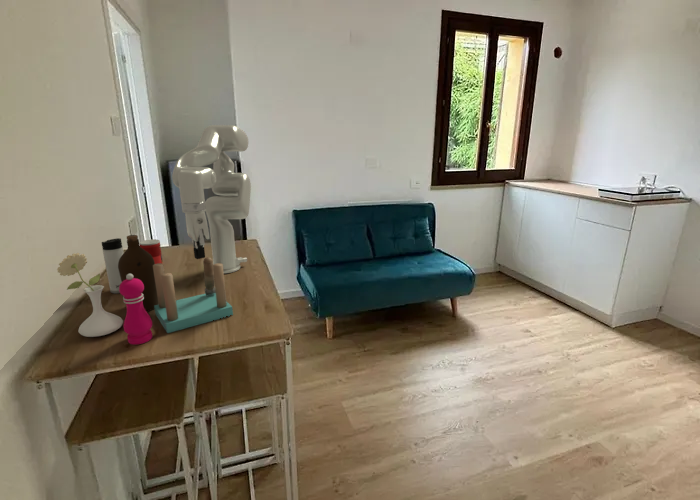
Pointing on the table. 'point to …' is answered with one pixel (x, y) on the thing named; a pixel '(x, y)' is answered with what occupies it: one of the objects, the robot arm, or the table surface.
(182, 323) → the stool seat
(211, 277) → the hinged leg
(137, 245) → the olive oil
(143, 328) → the pepper mill
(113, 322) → the flower in vase
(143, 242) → the canned food
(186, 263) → the table surface
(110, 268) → the travel mug
